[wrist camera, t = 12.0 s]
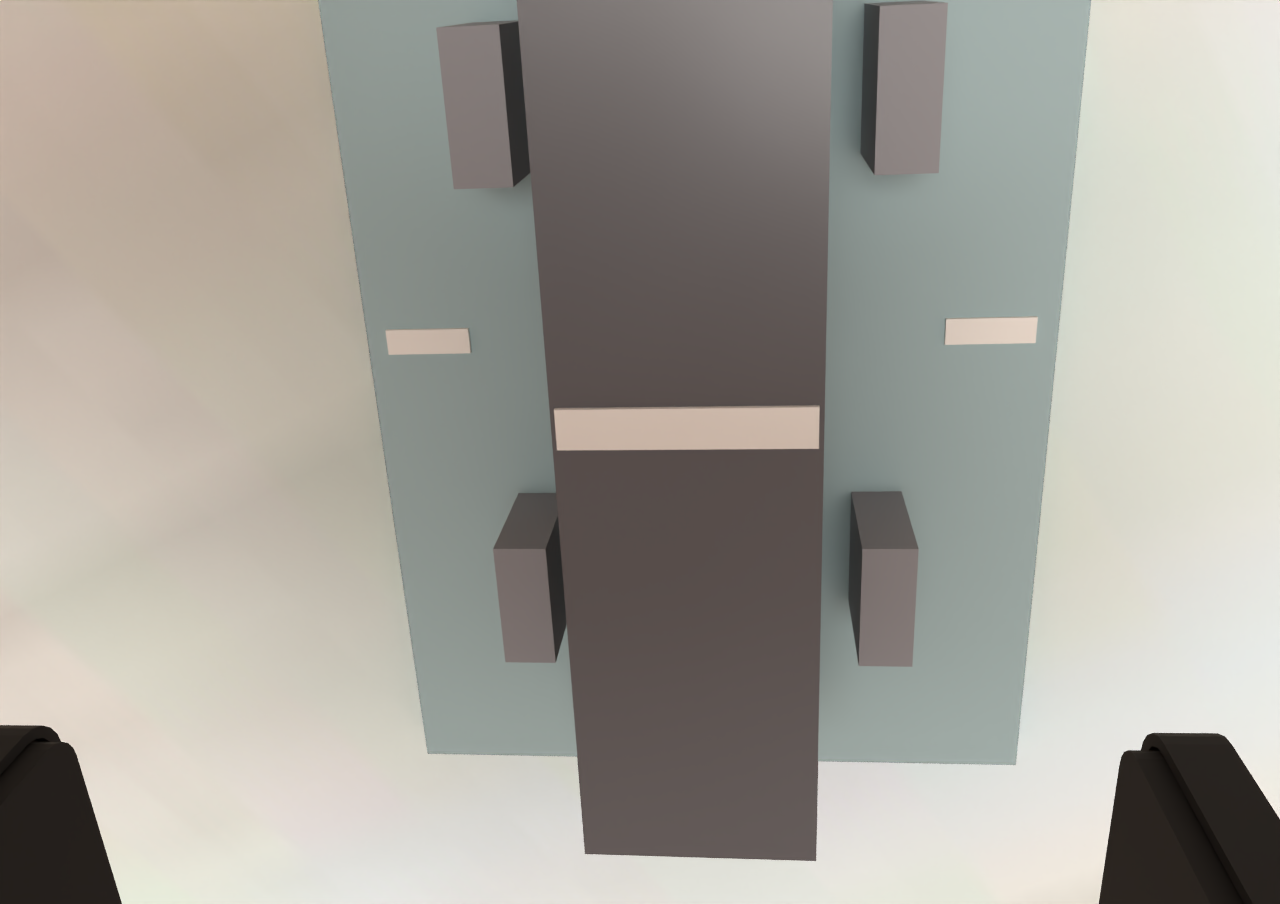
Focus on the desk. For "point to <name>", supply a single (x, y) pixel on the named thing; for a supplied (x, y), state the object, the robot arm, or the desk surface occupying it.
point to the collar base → (854, 382)
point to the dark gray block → (687, 406)
